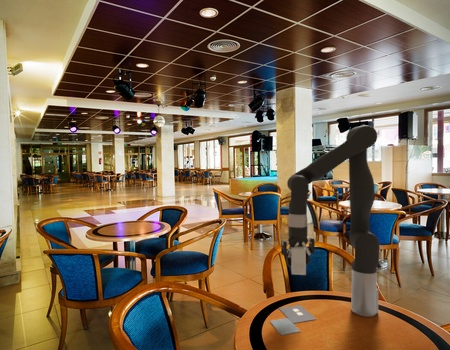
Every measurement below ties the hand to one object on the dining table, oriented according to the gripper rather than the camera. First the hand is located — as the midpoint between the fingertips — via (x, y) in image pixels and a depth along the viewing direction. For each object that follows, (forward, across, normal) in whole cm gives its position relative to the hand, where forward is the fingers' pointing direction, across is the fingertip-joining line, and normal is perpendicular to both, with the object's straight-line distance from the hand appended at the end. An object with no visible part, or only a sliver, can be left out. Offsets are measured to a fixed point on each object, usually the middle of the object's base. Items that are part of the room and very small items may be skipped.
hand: (298, 264), depth 121 cm
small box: (+3, 0, 0) cm, 3 cm away
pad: (+20, +10, +8) cm, 23 cm away
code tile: (+20, +1, +1) cm, 20 cm away
